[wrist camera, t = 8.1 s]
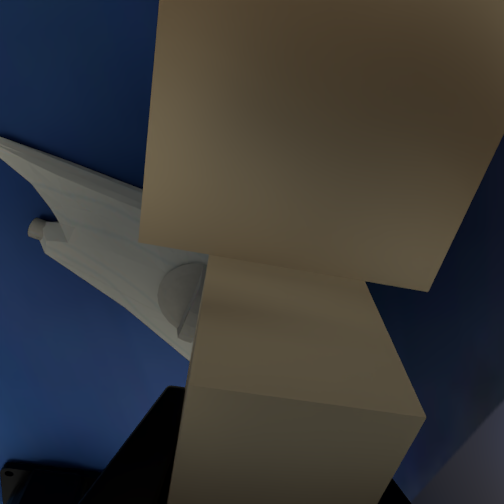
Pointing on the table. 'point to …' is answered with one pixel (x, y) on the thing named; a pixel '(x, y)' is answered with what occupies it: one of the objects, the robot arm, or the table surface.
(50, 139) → the table surface
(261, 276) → the tan stacked blocks
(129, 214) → the spaceship
